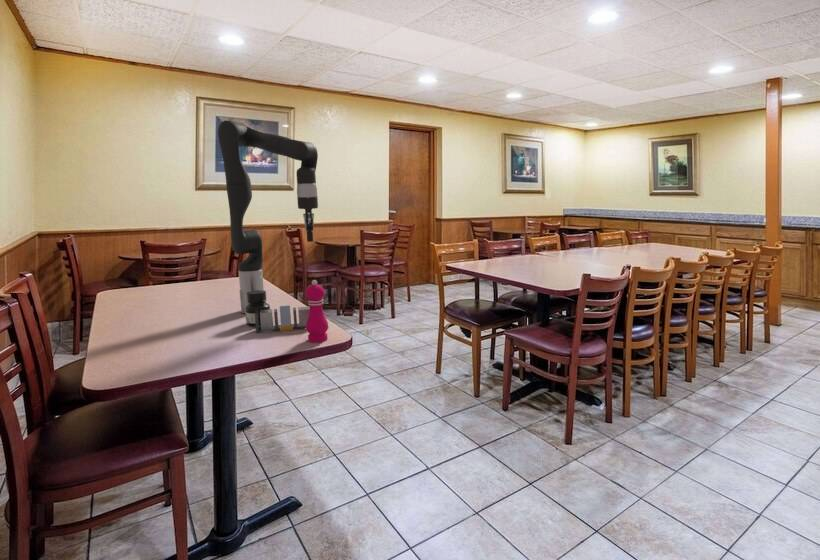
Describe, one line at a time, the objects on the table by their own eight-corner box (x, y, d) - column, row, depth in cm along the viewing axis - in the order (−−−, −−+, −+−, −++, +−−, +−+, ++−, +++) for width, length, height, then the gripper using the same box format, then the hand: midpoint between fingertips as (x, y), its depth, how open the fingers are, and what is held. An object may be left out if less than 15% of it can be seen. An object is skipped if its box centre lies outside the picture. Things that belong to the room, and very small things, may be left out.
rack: (256, 333, 170) (254, 313, 169) (256, 329, 175) (255, 310, 174) (316, 328, 175) (314, 309, 174) (315, 324, 180) (314, 306, 178)
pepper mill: (317, 335, 166) (314, 277, 163) (333, 338, 162) (330, 279, 158) (302, 341, 160) (298, 281, 157) (318, 344, 156) (314, 282, 153)
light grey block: (281, 326, 172) (279, 306, 172) (281, 324, 177) (279, 305, 177) (291, 325, 173) (289, 305, 173) (291, 323, 178) (289, 304, 177)
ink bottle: (245, 321, 186) (242, 290, 184) (269, 318, 189) (266, 288, 187) (247, 328, 177) (245, 295, 175) (272, 325, 181) (270, 293, 178)
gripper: (296, 196, 192) (299, 240, 195) (297, 196, 179) (300, 243, 182) (316, 195, 193) (318, 239, 197) (318, 195, 181) (321, 242, 184)
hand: (310, 241), depth 189 cm, fingers closed
